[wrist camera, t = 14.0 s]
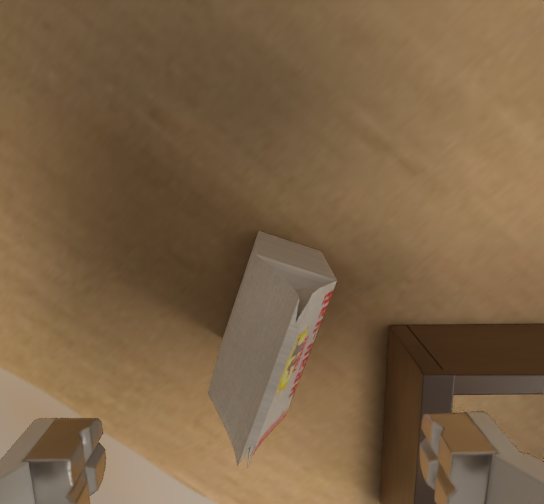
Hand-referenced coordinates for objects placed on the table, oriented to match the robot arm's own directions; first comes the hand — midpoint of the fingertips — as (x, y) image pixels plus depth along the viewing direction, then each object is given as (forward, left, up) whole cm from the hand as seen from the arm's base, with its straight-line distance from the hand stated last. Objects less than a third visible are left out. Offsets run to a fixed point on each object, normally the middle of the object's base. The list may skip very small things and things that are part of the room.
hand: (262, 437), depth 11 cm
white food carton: (+1, 0, -14) cm, 14 cm away
